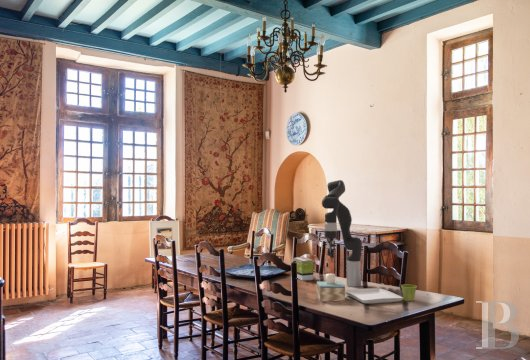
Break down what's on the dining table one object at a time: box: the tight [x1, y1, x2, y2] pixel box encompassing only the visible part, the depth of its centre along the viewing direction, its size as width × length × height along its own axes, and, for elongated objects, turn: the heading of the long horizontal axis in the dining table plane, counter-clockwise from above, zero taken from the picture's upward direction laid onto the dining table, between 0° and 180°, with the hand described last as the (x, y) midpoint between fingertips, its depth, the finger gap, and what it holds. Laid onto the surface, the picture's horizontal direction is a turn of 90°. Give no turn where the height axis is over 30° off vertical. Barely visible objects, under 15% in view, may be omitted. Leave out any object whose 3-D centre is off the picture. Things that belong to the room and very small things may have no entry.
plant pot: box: [400, 283, 418, 302], centre depth 279 cm, size 9×9×9 cm
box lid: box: [316, 280, 346, 288], centre depth 282 cm, size 15×13×1 cm
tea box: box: [292, 256, 314, 282], centre depth 346 cm, size 15×10×15 cm
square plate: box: [345, 287, 404, 305], centre depth 283 cm, size 27×27×4 cm
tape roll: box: [325, 273, 336, 284], centre depth 282 cm, size 6×6×6 cm
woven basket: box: [316, 283, 346, 303], centre depth 282 cm, size 15×13×8 cm
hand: (330, 256), depth 282 cm, fingers open, 8 cm apart
